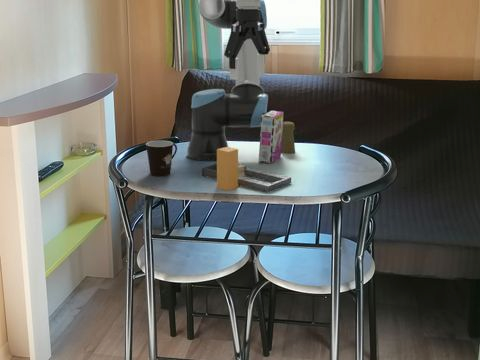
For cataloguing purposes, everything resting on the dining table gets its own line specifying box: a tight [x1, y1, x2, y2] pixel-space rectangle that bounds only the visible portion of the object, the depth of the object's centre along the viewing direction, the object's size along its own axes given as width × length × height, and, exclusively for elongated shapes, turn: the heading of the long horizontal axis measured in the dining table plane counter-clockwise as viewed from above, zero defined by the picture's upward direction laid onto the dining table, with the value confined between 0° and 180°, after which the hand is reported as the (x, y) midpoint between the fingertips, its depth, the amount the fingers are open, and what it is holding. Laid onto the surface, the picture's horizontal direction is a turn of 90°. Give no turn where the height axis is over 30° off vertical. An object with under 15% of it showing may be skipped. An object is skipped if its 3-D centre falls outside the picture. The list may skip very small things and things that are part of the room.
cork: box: [281, 121, 296, 155], centre depth 246 cm, size 6×6×11 cm
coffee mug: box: [145, 140, 178, 177], centre depth 217 cm, size 12×9×10 cm
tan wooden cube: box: [238, 163, 245, 178], centre depth 214 cm, size 4×4×4 cm
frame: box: [201, 162, 248, 180], centre depth 217 cm, size 10×11×2 cm
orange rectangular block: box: [216, 146, 239, 192], centre depth 203 cm, size 4×4×12 cm
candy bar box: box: [258, 110, 284, 164], centre depth 234 cm, size 11×5×16 cm, turn 159°
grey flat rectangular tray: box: [238, 167, 292, 193], centre depth 209 cm, size 17×12×2 cm
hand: (247, 77), depth 214 cm, fingers open, 13 cm apart
